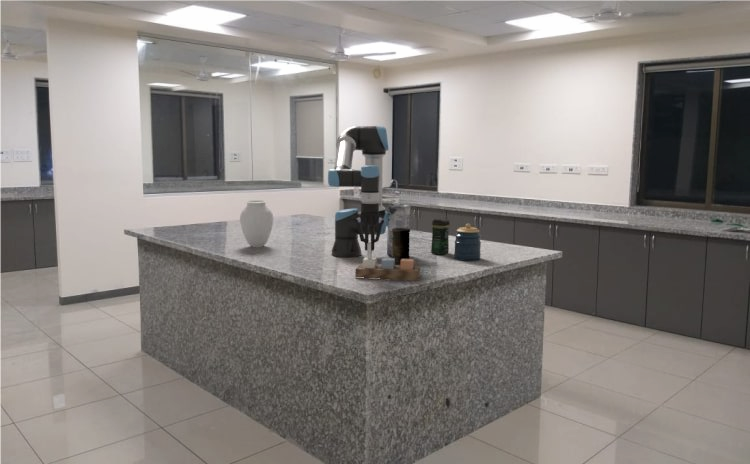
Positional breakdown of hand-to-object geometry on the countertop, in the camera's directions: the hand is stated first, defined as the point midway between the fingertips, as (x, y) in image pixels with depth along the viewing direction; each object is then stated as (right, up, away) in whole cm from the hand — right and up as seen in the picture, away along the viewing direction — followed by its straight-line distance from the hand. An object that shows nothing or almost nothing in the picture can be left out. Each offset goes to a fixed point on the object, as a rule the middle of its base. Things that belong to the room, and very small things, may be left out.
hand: (369, 258), depth 243 cm
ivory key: (0, -6, +1) cm, 6 cm away
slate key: (+8, -6, 0) cm, 10 cm away
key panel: (+8, -8, 0) cm, 11 cm away
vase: (-62, +3, +72) cm, 96 cm away
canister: (+48, -2, +42) cm, 64 cm away
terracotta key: (+16, -7, -2) cm, 17 cm away
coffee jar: (+36, 0, +56) cm, 66 cm away
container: (+14, -6, +18) cm, 23 cm away
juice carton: (+14, -1, +49) cm, 51 cm away
